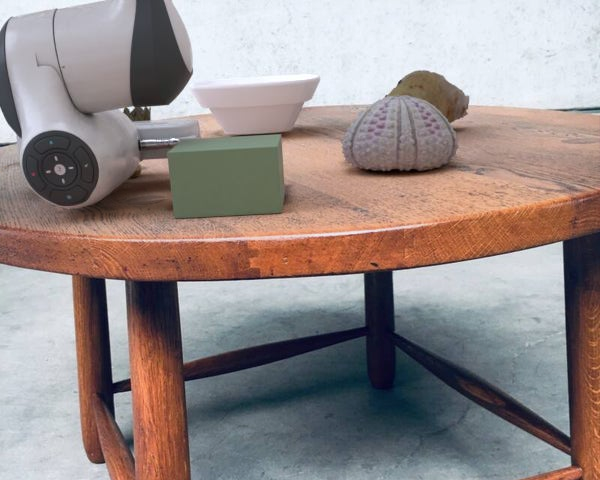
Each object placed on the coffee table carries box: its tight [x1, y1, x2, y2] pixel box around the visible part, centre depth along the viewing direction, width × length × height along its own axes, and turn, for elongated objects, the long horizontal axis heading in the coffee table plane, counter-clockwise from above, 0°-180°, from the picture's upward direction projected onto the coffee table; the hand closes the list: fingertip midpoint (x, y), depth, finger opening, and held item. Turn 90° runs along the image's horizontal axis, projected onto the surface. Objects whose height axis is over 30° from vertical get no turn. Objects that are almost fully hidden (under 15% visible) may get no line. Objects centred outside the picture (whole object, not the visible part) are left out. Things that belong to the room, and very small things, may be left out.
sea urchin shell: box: [340, 95, 460, 172], centre depth 103 cm, size 13×14×8 cm
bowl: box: [189, 73, 321, 136], centre depth 144 cm, size 21×21×9 cm
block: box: [167, 133, 286, 219], centre depth 87 cm, size 10×10×6 cm
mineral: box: [378, 69, 470, 124], centre depth 129 cm, size 26×9×10 cm
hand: (123, 133), depth 109 cm, fingers closed on cup, 7 cm apart
